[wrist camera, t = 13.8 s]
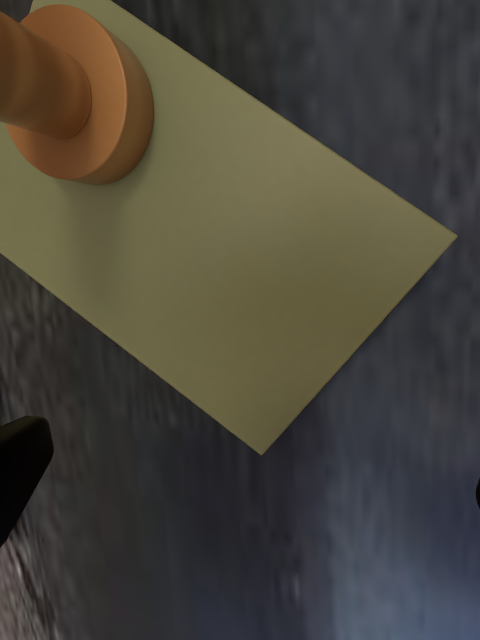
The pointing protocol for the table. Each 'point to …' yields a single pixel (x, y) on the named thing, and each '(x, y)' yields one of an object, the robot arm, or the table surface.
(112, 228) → the shelf
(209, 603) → the table surface
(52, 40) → the wooden peg stand
